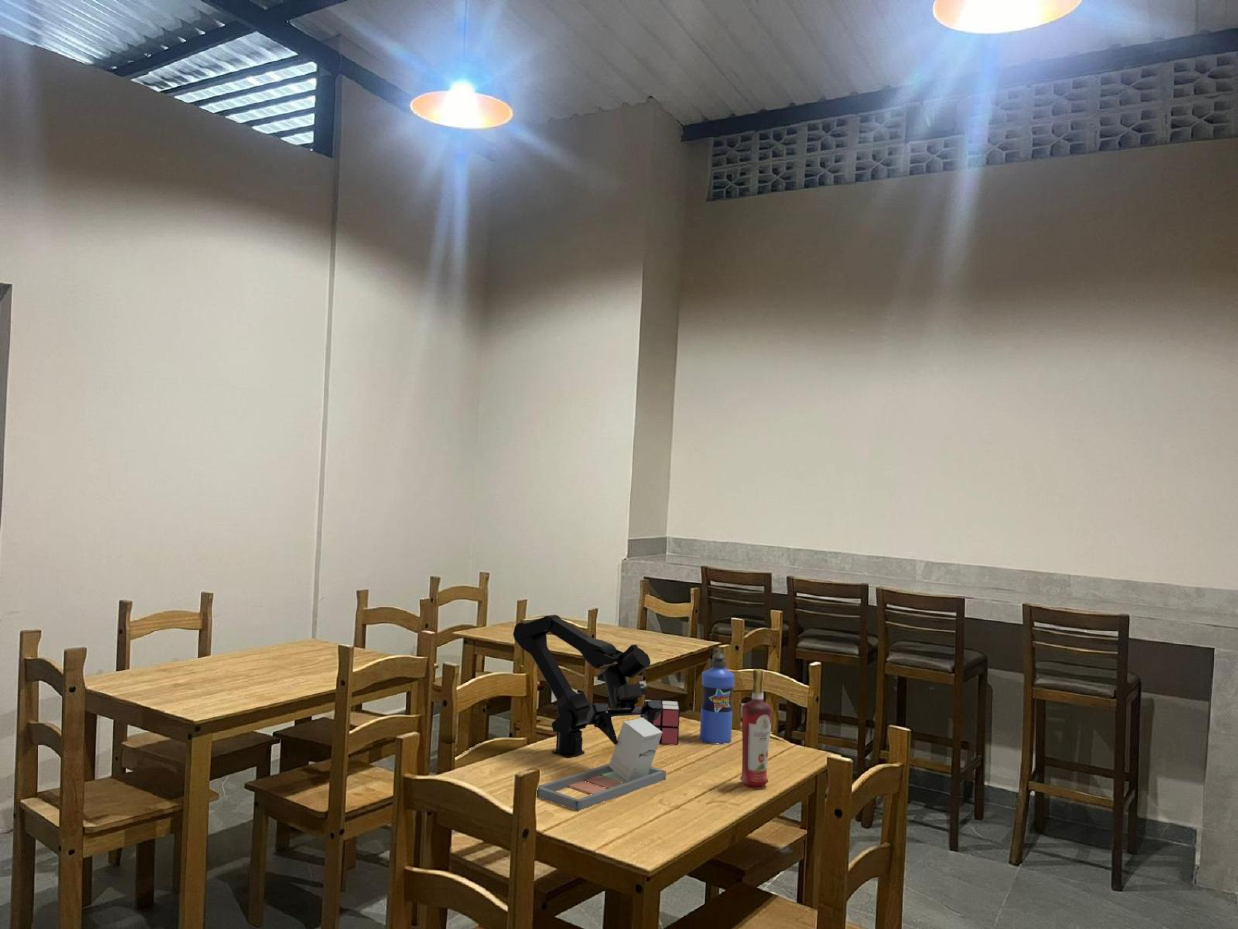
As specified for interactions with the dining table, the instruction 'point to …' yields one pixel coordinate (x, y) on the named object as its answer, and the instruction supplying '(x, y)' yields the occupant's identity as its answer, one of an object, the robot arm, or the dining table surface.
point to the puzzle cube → (668, 722)
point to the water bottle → (717, 702)
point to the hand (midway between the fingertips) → (633, 742)
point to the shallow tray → (597, 792)
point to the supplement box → (635, 749)
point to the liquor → (755, 735)
